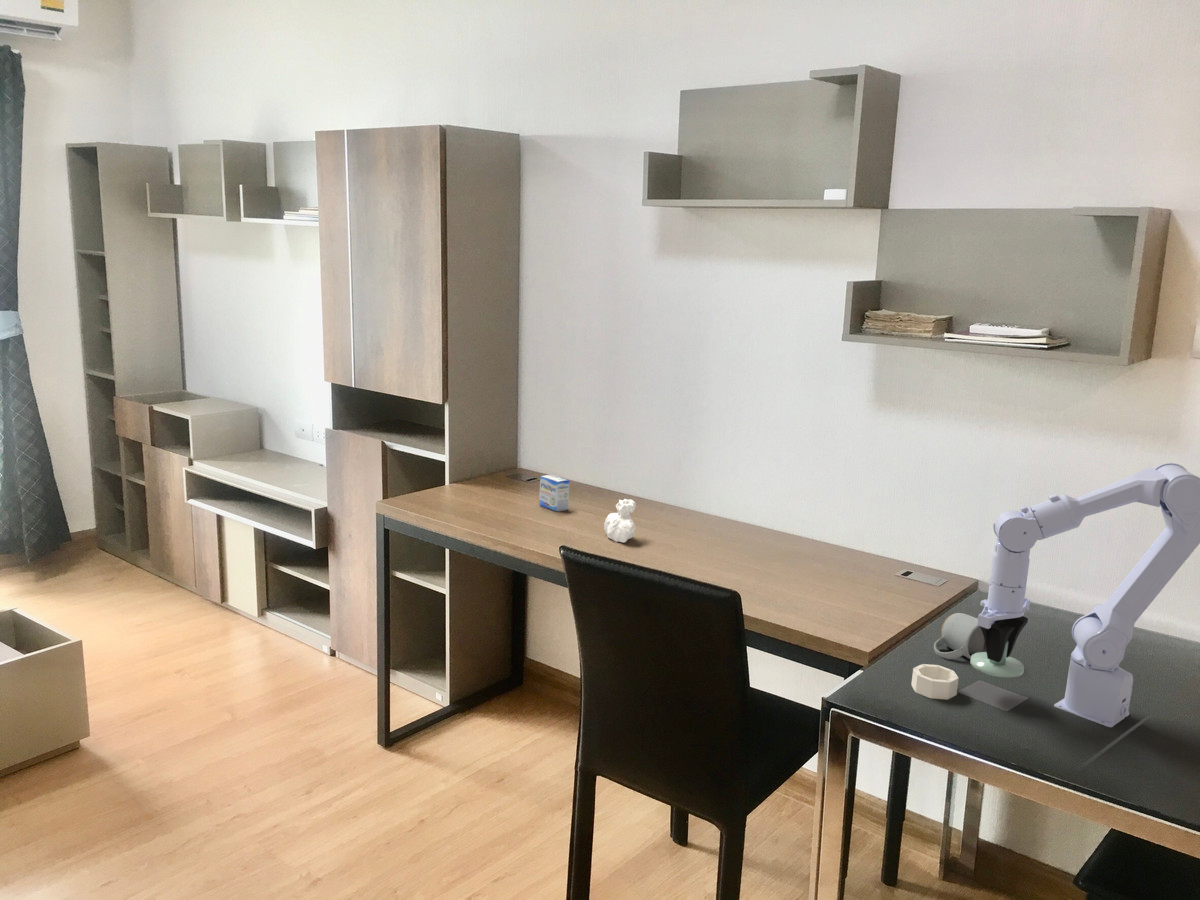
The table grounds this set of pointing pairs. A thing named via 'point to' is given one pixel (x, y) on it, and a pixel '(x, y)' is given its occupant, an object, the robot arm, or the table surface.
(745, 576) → the table surface
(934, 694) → the bowl
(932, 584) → the table surface
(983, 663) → the lid
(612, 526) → the white tied sack
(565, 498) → the medicine box
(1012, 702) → the mat
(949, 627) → the ceramic mug
